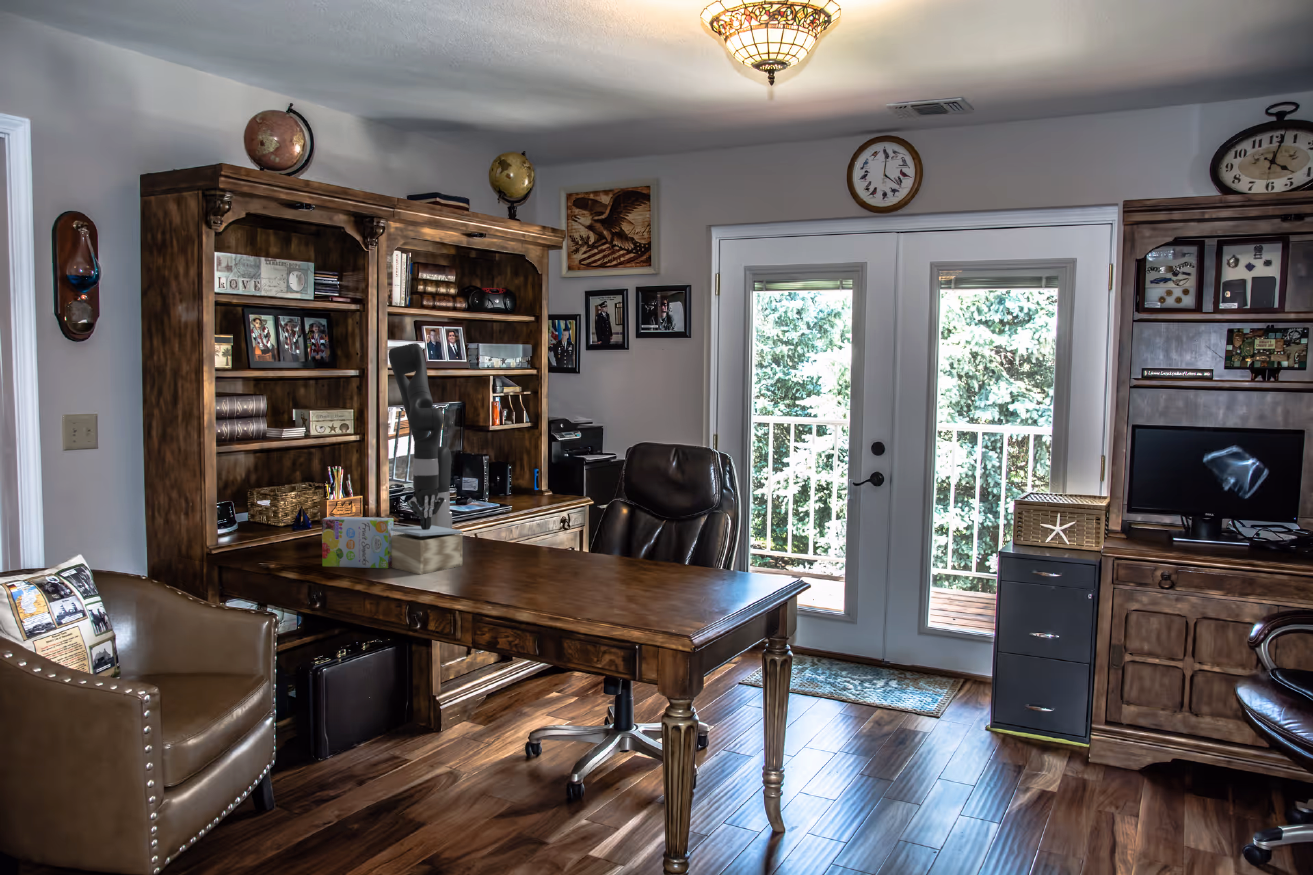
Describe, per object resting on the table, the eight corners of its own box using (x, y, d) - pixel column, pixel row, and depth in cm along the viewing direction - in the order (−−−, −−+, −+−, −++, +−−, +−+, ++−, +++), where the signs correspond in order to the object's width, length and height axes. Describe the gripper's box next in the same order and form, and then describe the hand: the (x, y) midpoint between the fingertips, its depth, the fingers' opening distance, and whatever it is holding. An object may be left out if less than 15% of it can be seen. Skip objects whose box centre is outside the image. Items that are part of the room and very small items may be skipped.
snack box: (394, 565, 291) (394, 517, 290) (387, 569, 286) (387, 520, 284) (329, 563, 293) (328, 515, 292) (321, 566, 288) (320, 518, 286)
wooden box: (433, 559, 300) (433, 528, 299) (462, 565, 291) (462, 534, 290) (391, 567, 287) (391, 535, 286) (420, 574, 279) (420, 541, 278)
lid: (434, 529, 299) (434, 525, 299) (463, 534, 291) (463, 530, 291) (390, 531, 286) (390, 527, 286) (419, 537, 278) (419, 533, 277)
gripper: (435, 470, 294) (435, 525, 295) (400, 473, 284) (400, 530, 285) (450, 472, 290) (450, 528, 291) (415, 475, 279) (415, 533, 280)
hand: (425, 529), depth 288 cm, fingers closed
